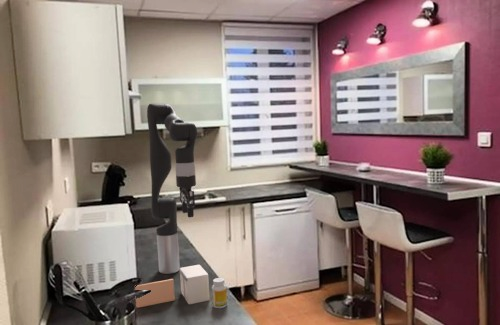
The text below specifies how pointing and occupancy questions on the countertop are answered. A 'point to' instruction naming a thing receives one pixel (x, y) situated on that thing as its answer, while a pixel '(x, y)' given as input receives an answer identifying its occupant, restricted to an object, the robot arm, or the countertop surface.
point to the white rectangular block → (194, 284)
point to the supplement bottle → (219, 293)
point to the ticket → (156, 293)
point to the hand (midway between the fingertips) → (188, 214)
